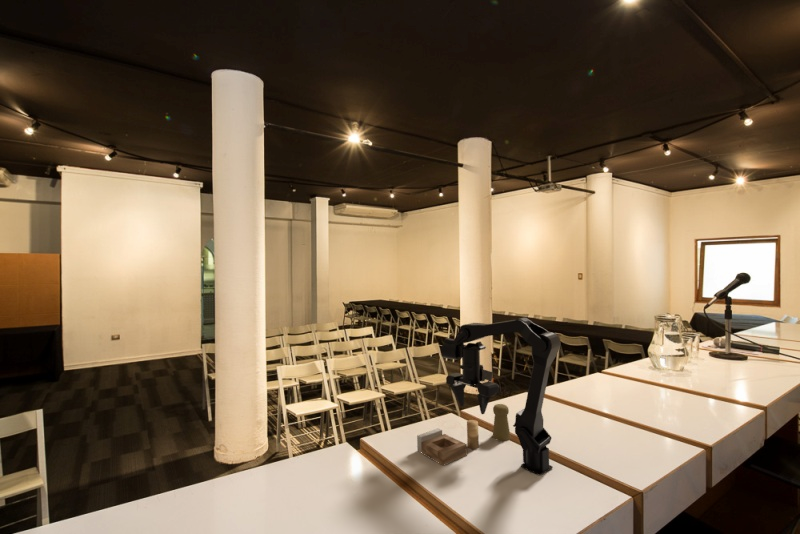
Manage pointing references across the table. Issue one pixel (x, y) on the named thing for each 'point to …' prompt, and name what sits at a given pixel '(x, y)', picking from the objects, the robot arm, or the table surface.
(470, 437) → the dowel
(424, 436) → the wall
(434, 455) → the socket block
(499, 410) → the cork
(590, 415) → the table surface
